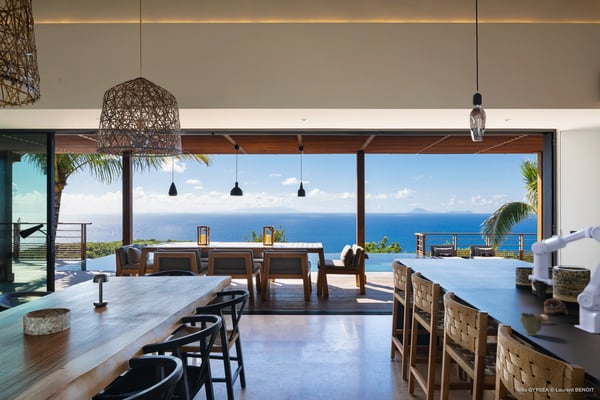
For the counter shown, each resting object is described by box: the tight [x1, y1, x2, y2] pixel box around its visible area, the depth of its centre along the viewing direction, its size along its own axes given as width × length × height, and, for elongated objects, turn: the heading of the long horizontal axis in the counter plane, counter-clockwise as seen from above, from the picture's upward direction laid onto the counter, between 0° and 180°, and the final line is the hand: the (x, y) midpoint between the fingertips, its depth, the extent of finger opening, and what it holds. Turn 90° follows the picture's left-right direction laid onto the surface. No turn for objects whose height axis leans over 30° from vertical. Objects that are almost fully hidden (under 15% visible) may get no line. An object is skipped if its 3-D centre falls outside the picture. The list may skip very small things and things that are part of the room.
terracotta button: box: [540, 313, 549, 320], centre depth 167 cm, size 3×3×2 cm
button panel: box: [519, 317, 553, 325], centre depth 167 cm, size 5×11×1 cm, turn 93°
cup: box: [520, 312, 543, 337], centre depth 150 cm, size 8×7×8 cm
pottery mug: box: [543, 298, 569, 316], centre depth 183 cm, size 12×10×8 cm
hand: (541, 297), depth 174 cm, fingers closed
